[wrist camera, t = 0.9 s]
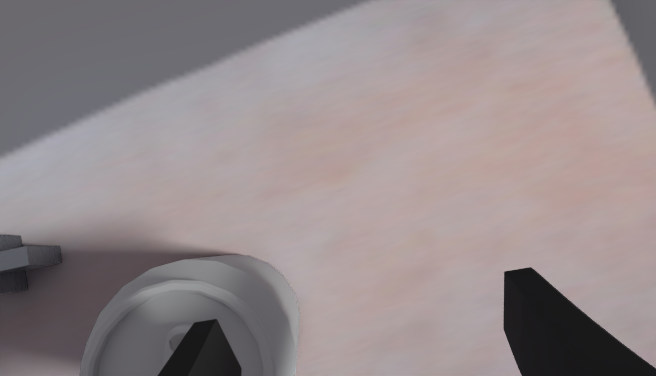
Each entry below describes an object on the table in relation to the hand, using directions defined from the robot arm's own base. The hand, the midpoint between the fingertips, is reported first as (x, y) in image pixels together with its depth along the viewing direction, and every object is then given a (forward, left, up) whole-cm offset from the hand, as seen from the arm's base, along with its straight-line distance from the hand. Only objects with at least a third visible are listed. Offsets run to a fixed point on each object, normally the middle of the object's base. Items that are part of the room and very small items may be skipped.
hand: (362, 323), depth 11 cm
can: (-1, +6, -15) cm, 17 cm away
